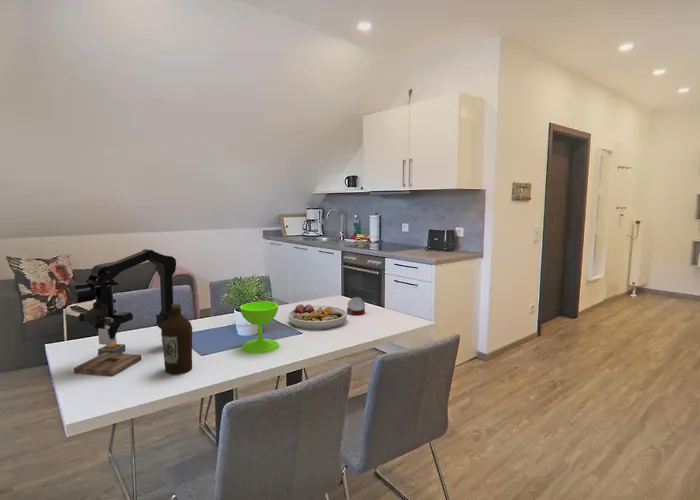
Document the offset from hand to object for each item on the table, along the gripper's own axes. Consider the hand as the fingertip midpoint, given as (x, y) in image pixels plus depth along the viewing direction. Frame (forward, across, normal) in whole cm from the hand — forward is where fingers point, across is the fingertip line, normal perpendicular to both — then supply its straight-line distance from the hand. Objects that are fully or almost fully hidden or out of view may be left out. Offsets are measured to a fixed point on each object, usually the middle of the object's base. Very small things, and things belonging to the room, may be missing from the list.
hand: (107, 338), depth 163 cm
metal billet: (+2, 0, 0) cm, 2 cm away
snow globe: (+12, +82, +90) cm, 122 cm away
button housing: (+11, -8, +12) cm, 18 cm away
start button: (+9, -8, +12) cm, 17 cm away
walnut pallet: (+11, 0, 0) cm, 11 cm away
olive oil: (+11, +28, +1) cm, 30 cm away
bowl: (+12, +65, +70) cm, 96 cm away
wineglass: (+11, +49, +30) cm, 58 cm away
